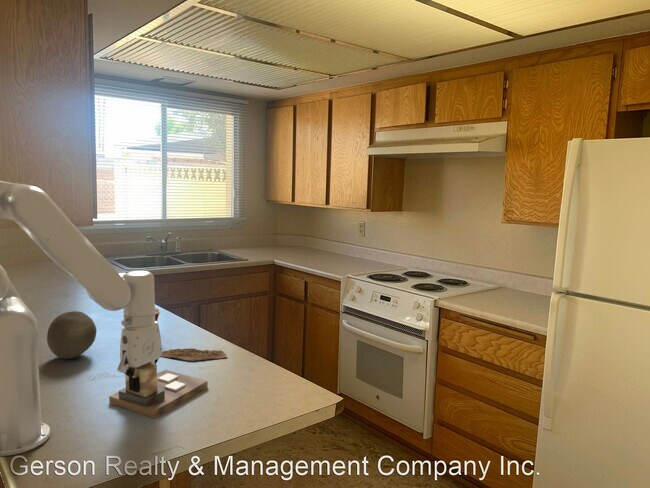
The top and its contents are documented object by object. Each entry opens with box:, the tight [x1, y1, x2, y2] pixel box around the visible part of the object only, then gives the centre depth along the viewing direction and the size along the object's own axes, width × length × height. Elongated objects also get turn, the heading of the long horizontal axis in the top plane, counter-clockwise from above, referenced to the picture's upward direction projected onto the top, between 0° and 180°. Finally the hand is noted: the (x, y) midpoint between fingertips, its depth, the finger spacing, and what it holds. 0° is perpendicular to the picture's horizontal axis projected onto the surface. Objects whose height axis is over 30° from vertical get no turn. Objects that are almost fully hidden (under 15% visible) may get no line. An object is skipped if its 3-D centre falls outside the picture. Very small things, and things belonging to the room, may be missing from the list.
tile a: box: [164, 381, 186, 392], centre depth 133 cm, size 4×4×1 cm
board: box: [108, 369, 208, 419], centre depth 132 cm, size 20×16×2 cm
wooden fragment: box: [160, 347, 228, 362], centre depth 161 cm, size 26×11×1 cm, turn 85°
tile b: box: [158, 373, 178, 383], centre depth 138 cm, size 4×4×1 cm
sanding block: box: [118, 363, 165, 407], centre depth 126 cm, size 6×10×9 cm, turn 64°
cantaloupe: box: [46, 310, 97, 360], centre depth 156 cm, size 14×14×15 cm
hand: (141, 386), depth 126 cm, fingers closed on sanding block, 4 cm apart
